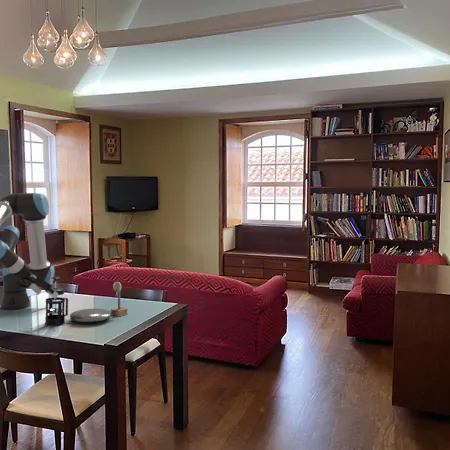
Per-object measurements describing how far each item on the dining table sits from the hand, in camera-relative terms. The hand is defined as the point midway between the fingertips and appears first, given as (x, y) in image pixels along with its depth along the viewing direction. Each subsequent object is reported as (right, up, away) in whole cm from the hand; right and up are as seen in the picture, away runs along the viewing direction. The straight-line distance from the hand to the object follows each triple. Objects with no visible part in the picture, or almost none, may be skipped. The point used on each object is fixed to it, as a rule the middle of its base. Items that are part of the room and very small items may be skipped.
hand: (48, 294), depth 226 cm
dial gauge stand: (+29, -14, +23) cm, 39 cm away
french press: (+2, -15, +5) cm, 16 cm away
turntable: (+17, -13, +11) cm, 24 cm away
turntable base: (+17, -15, +12) cm, 25 cm away
